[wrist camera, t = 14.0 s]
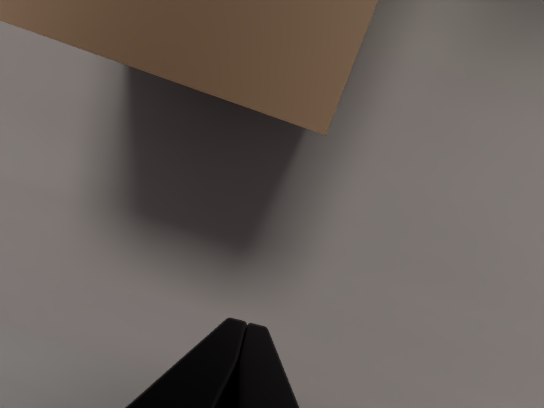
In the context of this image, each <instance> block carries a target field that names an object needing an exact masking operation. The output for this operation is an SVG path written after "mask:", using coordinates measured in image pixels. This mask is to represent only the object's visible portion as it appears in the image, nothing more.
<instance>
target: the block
mask: <svg viewBox="0 0 544 408" xmlns="http://www.w3.org/2000/svg"><path fill="white" fill-rule="evenodd" d="M377 3H378V0H0V20H1V21H3V22H6V23H9V24H12V25H15V26H18V27H20V28H23V29H26V30H29V31H32V32H35V33H37V34H40V35H43V36H46V37H49V38H52V39H54V40H57V41H60V42H63V43H66V44H68V45H71V46H74V47H77V48H80V49H83V50H85V51H88V52H91V53H94V54H97V55H100V56H102V57H105V58H108V59H111V60H114V61H117V62H119V63H122V64H125V65H128V66H131V67H134V68H136V69H139V70H142V71H145V72H148V73H151V74H153V75H156V76H159V77H162V78H165V79H168V80H170V81H173V82H176V83H179V84H182V85H185V86H187V87H190V88H193V89H196V90H199V91H201V92H204V93H207V94H210V95H213V96H216V97H218V98H221V99H224V100H227V101H230V102H233V103H235V104H238V105H241V106H244V107H247V108H250V109H252V110H255V111H258V112H261V113H264V114H267V115H269V116H272V117H275V118H278V119H281V120H284V121H286V122H289V123H292V124H295V125H298V126H301V127H303V128H306V129H309V130H312V131H315V132H318V133H320V134H323V135H326V134H327V131H328V129H329V126H330V124H331V121H332V119H333V116H334V113H335V111H336V108H337V106H338V103H339V100H340V98H341V95H342V93H343V90H344V88H345V85H346V82H347V80H348V77H349V75H350V72H351V70H352V67H353V64H354V62H355V59H356V57H357V54H358V52H359V49H360V46H361V44H362V41H363V39H364V36H365V33H366V31H367V28H368V26H369V23H370V21H371V18H372V15H373V13H374V10H375V8H376V5H377Z"/></svg>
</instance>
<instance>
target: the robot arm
mask: <svg viewBox="0 0 544 408" xmlns="http://www.w3.org/2000/svg"><path fill="white" fill-rule="evenodd" d="M126 408H299V406H298V403H297V401H296V398H295V396H294V393H293V391H292V388H291V386H290V383H289V381H288V378H287V376H286V373H285V371H284V368H283V366H282V363H281V361H280V358H279V356H278V353H277V351H276V348H275V346H274V343H273V341H272V338H271V336H270V333H269V331H268V329H267V327H265V326H261V325H257V324H253V323H249V324H248V325H247V324H246V322H245V321H242V320H238V319H234V318H227V319H226V320H225V321H223V322H222V323H221V324H220V325H219V326H218V327H217V328H215V329H214V330H213V331H212V332H211V333H210V334H209V335H208V336H206V337H205V338H204V339H203V340H202V341H201V342H200V343H198V344H197V345H196V346H195V347H194V348H193V349H192V350H190V351H189V352H188V353H187V354H186V355H185V356H184V357H183V358H181V359H180V360H179V361H178V362H177V363H176V364H175V365H173V366H172V367H171V368H170V369H169V370H168V371H167V372H165V373H164V374H163V375H162V376H161V377H160V378H159V379H158V380H156V381H155V382H154V383H153V384H152V385H151V386H150V387H148V388H147V389H146V390H145V391H144V392H143V393H142V394H140V395H139V396H138V397H137V398H136V399H135V400H134V401H133V402H131V403H130V404H129V405H128V406H127V407H126Z"/></svg>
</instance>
